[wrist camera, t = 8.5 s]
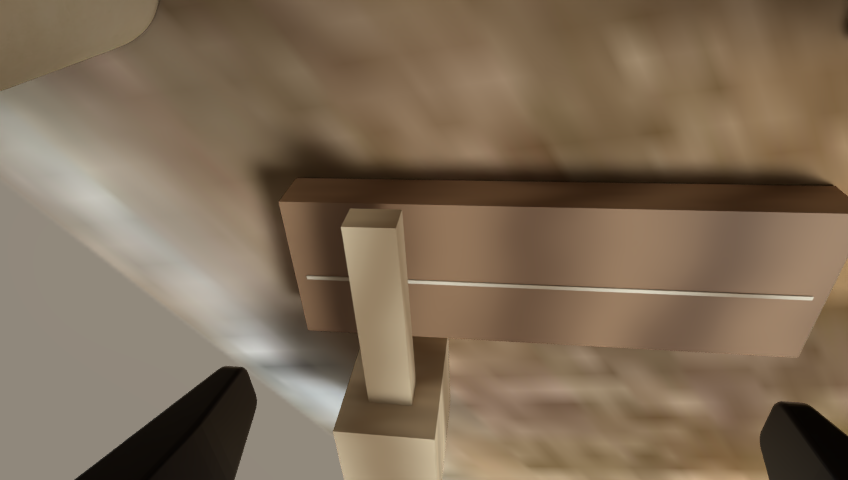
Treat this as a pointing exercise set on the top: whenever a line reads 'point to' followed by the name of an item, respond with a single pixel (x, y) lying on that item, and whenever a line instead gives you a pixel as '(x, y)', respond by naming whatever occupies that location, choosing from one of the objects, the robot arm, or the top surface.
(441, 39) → the top surface
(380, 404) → the gauge
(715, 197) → the board
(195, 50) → the top surface
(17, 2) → the candle
